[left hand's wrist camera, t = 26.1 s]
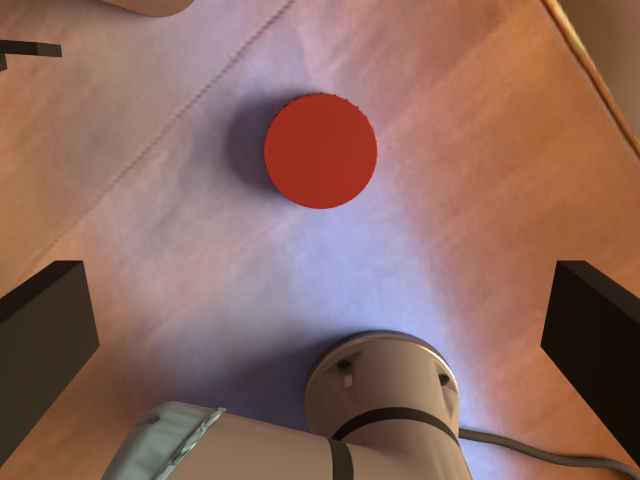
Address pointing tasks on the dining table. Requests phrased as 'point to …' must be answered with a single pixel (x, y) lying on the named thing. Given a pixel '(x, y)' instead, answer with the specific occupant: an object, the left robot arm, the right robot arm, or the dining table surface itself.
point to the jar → (153, 6)
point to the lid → (320, 151)
